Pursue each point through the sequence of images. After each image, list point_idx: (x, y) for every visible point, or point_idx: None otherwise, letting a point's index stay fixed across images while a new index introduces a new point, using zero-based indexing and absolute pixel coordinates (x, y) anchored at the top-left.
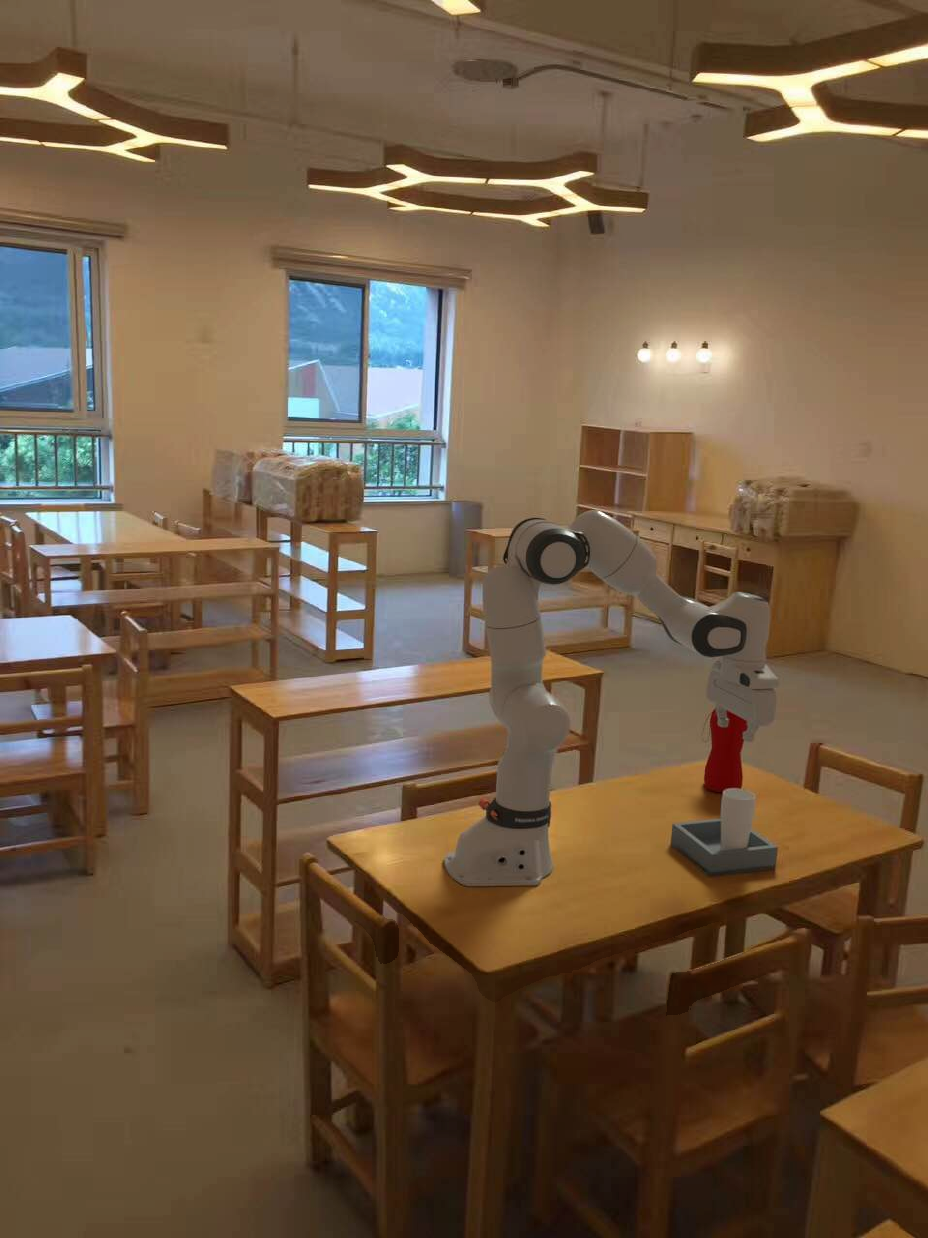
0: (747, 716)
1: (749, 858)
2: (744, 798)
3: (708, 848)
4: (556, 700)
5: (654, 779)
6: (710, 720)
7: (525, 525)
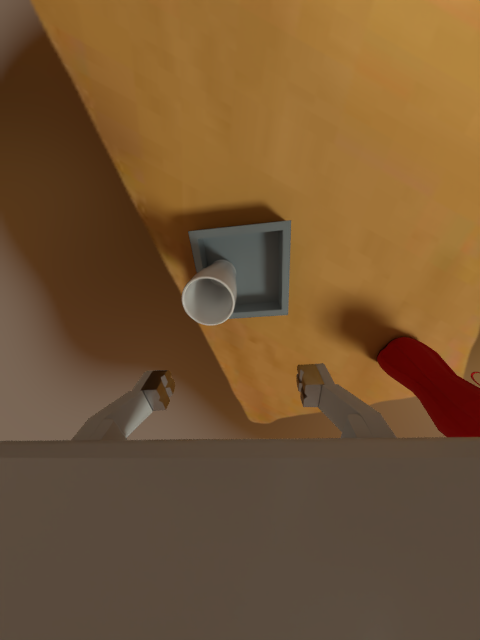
0: (35, 469)
1: None
2: (225, 313)
3: (206, 235)
4: None
5: (469, 292)
6: None
7: None
